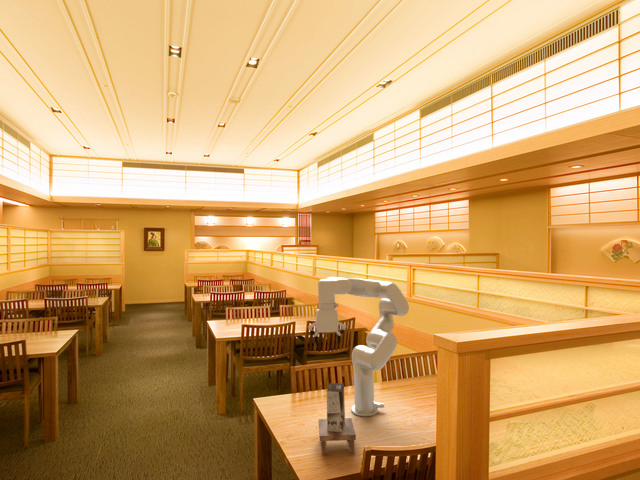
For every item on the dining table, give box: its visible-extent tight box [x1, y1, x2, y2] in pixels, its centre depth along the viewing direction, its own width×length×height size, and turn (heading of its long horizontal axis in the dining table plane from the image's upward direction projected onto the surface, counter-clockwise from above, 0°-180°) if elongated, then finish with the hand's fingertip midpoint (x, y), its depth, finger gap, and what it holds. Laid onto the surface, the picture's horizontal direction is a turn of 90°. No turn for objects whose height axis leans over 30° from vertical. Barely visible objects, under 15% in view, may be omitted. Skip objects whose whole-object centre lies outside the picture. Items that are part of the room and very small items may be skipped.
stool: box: [318, 417, 357, 457], centre depth 159 cm, size 14×14×8 cm
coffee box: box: [326, 382, 346, 432], centre depth 159 cm, size 9×6×16 cm
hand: (327, 344), depth 177 cm, fingers open, 9 cm apart
